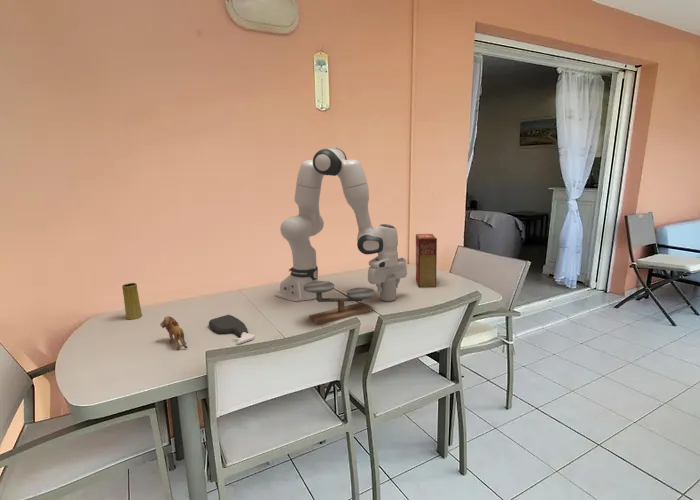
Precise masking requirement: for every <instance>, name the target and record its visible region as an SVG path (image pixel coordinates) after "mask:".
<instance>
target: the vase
mask: <svg viewBox="0 0 700 500" xmlns="http://www.w3.org/2000/svg"><path fill="white" fill-rule="evenodd" d="M121 288H122V294H123V303H124V310H125V319H126V320H128V321H129V320H138V319H140V318H141V317H143V313H142V308H141V303H140V296H139V292H138V285H137V283H136V282H130V283H125V284H123V285H122V286H121Z"/></svg>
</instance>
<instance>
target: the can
mask: <svg viewBox="0 0 700 500" xmlns="http://www.w3.org/2000/svg"><path fill="white" fill-rule="evenodd" d="M380 286H381V288H383V292H379V298H380V299H381V300H382V301H383V302H389V301H390V302H393V301H395V300H396V299H397V288H396V277H395V275H393V276H386V279H385V282H382V283H381V285H380Z"/></svg>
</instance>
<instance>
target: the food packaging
mask: <svg viewBox="0 0 700 500" xmlns="http://www.w3.org/2000/svg"><path fill="white" fill-rule="evenodd" d="M437 241H438V238H437V237H436V236H435V235H434V234H433V233H416V234H415V282H416V285H417V287H418V288H437V263H438V262H437V255H438V254H437V252H438V251H437V250H438V247H437V246H438V244H437V243H438V242H437Z"/></svg>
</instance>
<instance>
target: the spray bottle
mask: <svg viewBox="0 0 700 500" xmlns="http://www.w3.org/2000/svg"><path fill="white" fill-rule="evenodd" d="M208 327H209V328H210V329H211V330H212V331H214V332H215V333H216V334H218V335H230V334H232V335H233V334H235V335H236V336H237V337H232V340H234V341H235V340H236V342H235V343H236V345H240V344H244V343H246V342H248V341H251V340H254V339H255V338H256V334H252V333H251V334H250V333H249V330H248V328H247V326H246V324H245V323H244V322H243V321H242V320H240V318H237V317H235V316H233V315H231V314H225V315H222V316H218V317H215V318H212V319H210V320H209V322H208Z"/></svg>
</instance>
